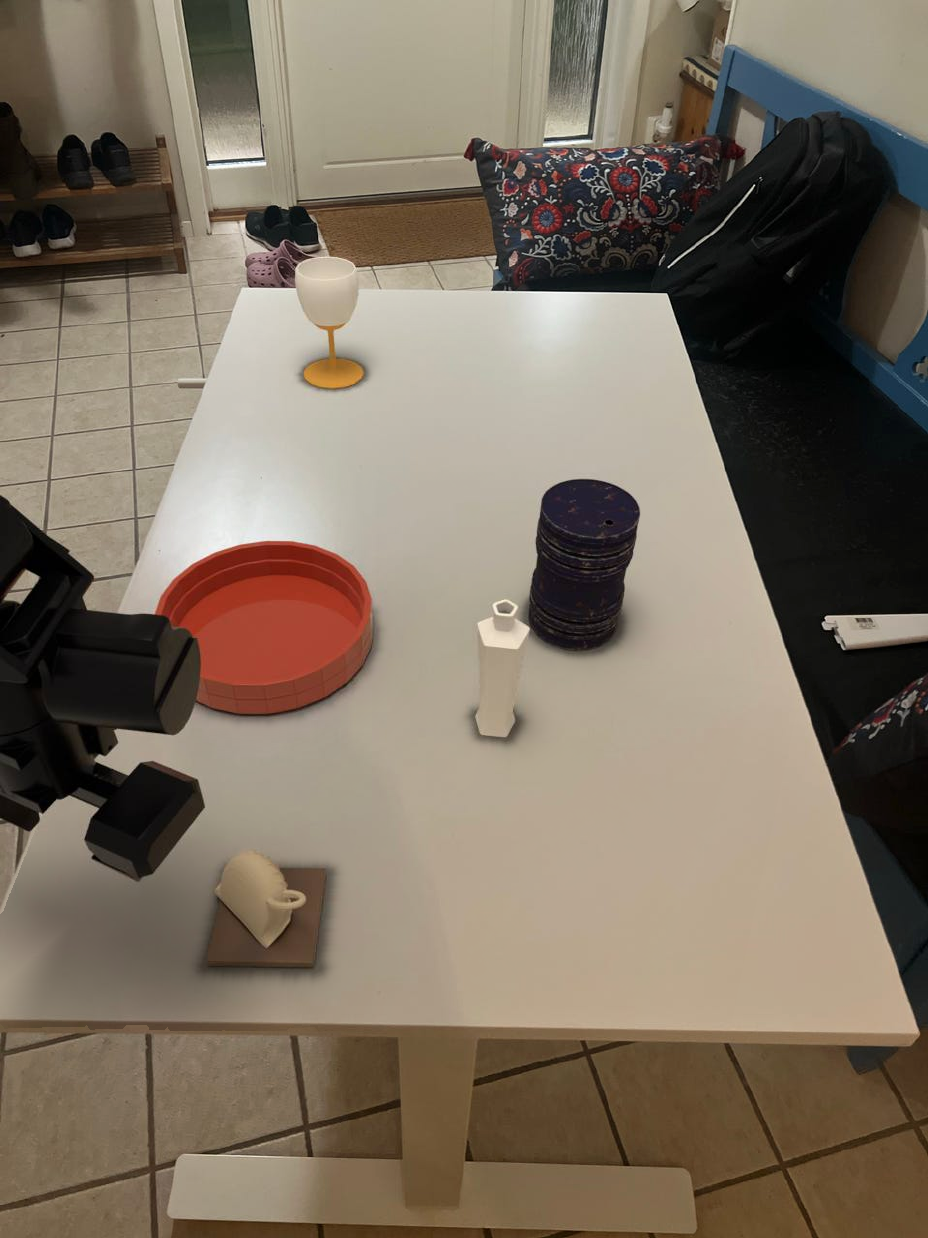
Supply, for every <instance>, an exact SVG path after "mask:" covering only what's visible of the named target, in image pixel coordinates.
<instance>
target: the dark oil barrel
mask: <svg viewBox="0 0 928 1238" xmlns="http://www.w3.org/2000/svg"><path fill="white" fill-rule="evenodd" d="M539 510H540V511H539V517H538V520H537V527H536V536H535V551H536V554H537V555H536V563H535V568H534V570H533V572H532V577H531V582H530V583H531V584H530V587H529V596H528V600H529V607H528V612H527V621H528V623H529V627H530V628H531V630H532V632H533V633H534V634H535V635H536V636H537V637H538V638H540V640H542V641H544V642H545V643H547V644H549V645H551V646H552V647H555V648H558V649H563V650H567V651H589V650H593V649H596V648H599V647H601V646H603V645H605V644H607V643H608V642H609V641H610V640H611V639H612V638H613V637H614V635H615V633H616V631H617V627H618V621H619V618H620V615H621V612H622V610H623V609H622V608H623V603H624V597H625V590H626V585H625V578H626V573H627V569H628V567H629V566H630V563H631V561H632V560H633V556H634V549H635V547H636V541H637V537H638V527H639V526H638V525H639V522H640V517H641V508H640V504H639V503H638V501H637V499H635V497H634V496H633V495H632V494H631V493H630V492H629V491H626V490H625V488H622V487H620V486H619V485H616V484H613V483H611V482H608V481H604V480H600V479H593V478H573V479H567V480H562V481H560V482H558V483H556V484H553V485H552V486H551V487H549V488H548V489H547V490H546V491H545V492H544V493H543V495H542V498H541V501H540V509H539Z"/></svg>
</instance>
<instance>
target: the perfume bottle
mask: <svg viewBox="0 0 928 1238" xmlns="http://www.w3.org/2000/svg"><path fill="white" fill-rule="evenodd" d="M492 608H493V615H492V616H491V617H488V618H485V619H483V620H479V621H478V622H477V657H478V688H479V689H478V691H479V692H478V693H479V707H478V710H477V712H476V714H475V721H476V724H477V728H478V733H479V734H480V735H481V736H487V737H497V738H507V737H508V735H509V733H510V732H511V730H512V728H513V726H514V724H515V722H516V717H515V714H514V711H513V709H514V705H515V701H516V696H517V691H518V687H519V681H520V678H521V673H522V667H523V662H524V657H525V654H526V649H527V643H528V640H529V639H528V638H529V634H530V628H531V627H530V626H528V625H527V624H525V623H523V622H522V621H521V620H518V619H517V618H516V613H517V610H518V609H519V606H518V605H517V604H516V603H514V602H512V601H510V600H509V599H507V598H506V599H502V600H499V601H495V602H493V603H492Z"/></svg>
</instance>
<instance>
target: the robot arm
mask: <svg viewBox="0 0 928 1238" xmlns="http://www.w3.org/2000/svg"><path fill="white" fill-rule="evenodd" d="M70 551H71V550H70V549H69V548H67V547H66V546H64V545H62V544H61V543H59V542H58V541H57V540H56V539H54V538H53V537H51V536H49V535H47V534H46V533H45V531H43V530H42V529H40V527H38V526H37V525H36V524H35V523H33V521H31V520H30V519H29V518H27V517H26V516H25V514H23V513H22V512H21V511H20V510H19V509H17V508H16V507H15V506H14V505H12V504H11V502H10V501H9V499H7V498H6V497H5V496H3V495H1V494H0V819H1V820H3V821H5V822H7V823H9V824H11V825H13V826H15V827H18V828H19V829H21V830H24V831H26V832H27V833H28V832H31V831H32V830H33V829H34V828H35V827H36V826H37V825H39V823H40V821H41V817H40V814H42V815H44V813H46V812H47V810H48V809H50V808H51V806H52V805H54V803H55V802H56V801H57V800H58V801H61V800H64V799H66V798H68V797H69V796H70V797H71V798H74V799H76V800H78V801H81V802H83V803H86V804H88V805H90V806H92V807H94V808H96V809H97V810H96V812H94V814H93V815H92V816H91V817H90V819H89V823H88V825H87V829H86V833H85V835H84V838H83V841H84V843H85V845H86V847H87V849H88V851H89V852H91V853H92V854H93V855H91V857H90V858H91V860H93V861H94V862H96V863H98V864H100V865H102V866H104V867H106V868H108V869H111V870H112V871H114V872H116V873H119V874H120V875H121V876H124V877H125V878H128V879H129V880H132V881H134V882H137V883H139V882H141V881H142V879H143V878H145V877H148V876H151V875H153V874H154V873H155V872H156V871H157V870H158V868H159V867H160V866H161V865H162V863H163V862H164V861H165V859H166V858H167V857H168V855H169V854H170V853H171V852H172V850H173V849H174V848H175V847H176V845H177V844H178V843H179V841H180V840H181V839H182V838H183V836H185V834H186V832H187V831H188V830H189V829H190V827H192V825H193V824H194V823H195V821H196V820H197V818H198V817H199V815H201V813H202V812H203V811H204V810H205V808H206V804H205V799H204V795H203V792H202V789H201V785H200V782H199V779H198V778H196V777H193V776H190V775H188V774H186V773H183V772H181V771H178V770H176V769H174V768H171V767H169V766H168V765H167V766H166V765H164V764H162V763H160V762H157V761H155V760H149V761H142V762H139V763H138V764H137V766H135V768H134V769H133V770H132V771H131V772H130V774H126V773H123V772H122V771H119V770H116V769H114V768H111V767H109V766H107V765H104V764H102V763H100V762H97V761H96V758H97V757H98V756H103V757H106V756H107V757H108V755H109V754H110V753H111V752H112V750H113V749H115V747H116V746H117V745H118V744H119V740H118V737H117V734H116V732H115V731H116V730H121V731H122V730H123V731H133V732H141V733H148V734H149V733H150V734H159V735H166V736H176V735H178V734H180V732H181V731H182V730H183V729H185V727H186V725H187V724H188V722H189V720H190V718H191V716H192V714H193V711H194V709H195V705H196V701H197V700H196V698H197V694H198V689H199V682H200V671H201V657H200V649H199V644H198V640H197V638H195V637H193V636H192V634H191V633H190V631H189V630H187V629H186V628H180V627H172V626H171V623H170V619H169V618H168V617H166V616H165V615H155V613H144V612H143V613H132V614H131V613H129V614H128V613H119V612H110V611H103V610H102V611H101V610H91V609H88V608H87V605H86V602H85V600H84V596H85V594H86V593H87V592H88V590H89V588H90V587H91V585H92V584H93V582H94V581H95V575H94V574H93V573H92V572H91V571H90V570H89V569H87V567H85V566H84V565H83V564H82V563H80V561H78V560H77V559H76V558H75V557H73V556H72V555H71V554H70ZM26 571H28V572H30V573H32V574H33V575H35V576H37V577H39V578H38V579H37V581H36V583H35V584H34V585H33V587H32V588H31V589H30V591H29V593H28V594H27V595H26V597H25V598H24V600H23V601H21V603H20V602H19V601H15V600H9V599H5V598H6V597H7V596H8V594H9V593H10V592H11V590H13V588H14V586H15V585H16V584H17V582H18V581H19V580H20V578H21V577H22V575H23V574H24V573H25V572H26Z"/></svg>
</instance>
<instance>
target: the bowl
mask: <svg viewBox="0 0 928 1238" xmlns="http://www.w3.org/2000/svg"><path fill="white" fill-rule="evenodd" d="M154 612H155V613H154V614H155V615H165V616H166V617H168V618H169V619H170V623H171V626H172V627H180V628H186V629H187V630H189V631H190V633H191V634H192V636H193V637H195V638H197V640H198V644H199V649H200V657H201V671H200V682H199V689H198V694H197V698H196V701H197V702H198V703H200V704H202V705H205V706H207V707H209V708H210V709H215V710H220V711H225V712H229V713H234V714H238V715H239V714H242V715H243V714H244V715H245V714H246V715H270V714H276V713H283V712H288V711H292V710H296V709H299V708H303V707H305V706H308V705H311V704H313V703H315V702H317V701H319V700H322V699H324V698H326V697H329V695H331V694H333V692H335V691H337V690H338V689H340V688H342V687H343V686H345V684H347V683H348V682H349V681H350V680H351V679H352V678H353V677H354V675H355V674H356V673H357V672H358V671H359V670H360V669H361V668H362V666H363V665H364V663H365V661H366V659H367V657H368V654H369V653H370V650H371V648H372V645H373V633H374V619H373V601H372V595H371V593H370V589H369V586H368V583H367V581H366V579H365V578H364V577H363V575H362V574H361V573H360V572H359V570H358V569H357V568H356V566H355V565H353V564H352V563H351V562H349V560H346V559H345V558H344V557H342V556H341V555H339V554H337V553H335V552H332V551H330V550H327V549H325V548H323V547H320V546H317V545H315V544H310V543H309V544H308V543H303V542H298V541H294V540H292V541H291V540H261V541H255V542H248V543H247V542H246V543H242V544H237V545H234V546H231V547H228V548H224V549H221V550H218V551H215V552H212V553H210V554H208V555H207V556H205V557H203V558H201V559H199V560H197V561H195V562H194V563H192V564H191V565H189V566H188V567H187V568H185V569H184V570H183V571H181V572H180V573H179V574H178V575H176V576H175V577H174V578H173V579H172V581H171V582H170V583H169V584H168V586H167V587H166V589H165V590H164V591H163V592H162V594H161V595H160V597H159V599H158V603H157V606H156V609H155V611H154Z"/></svg>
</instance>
